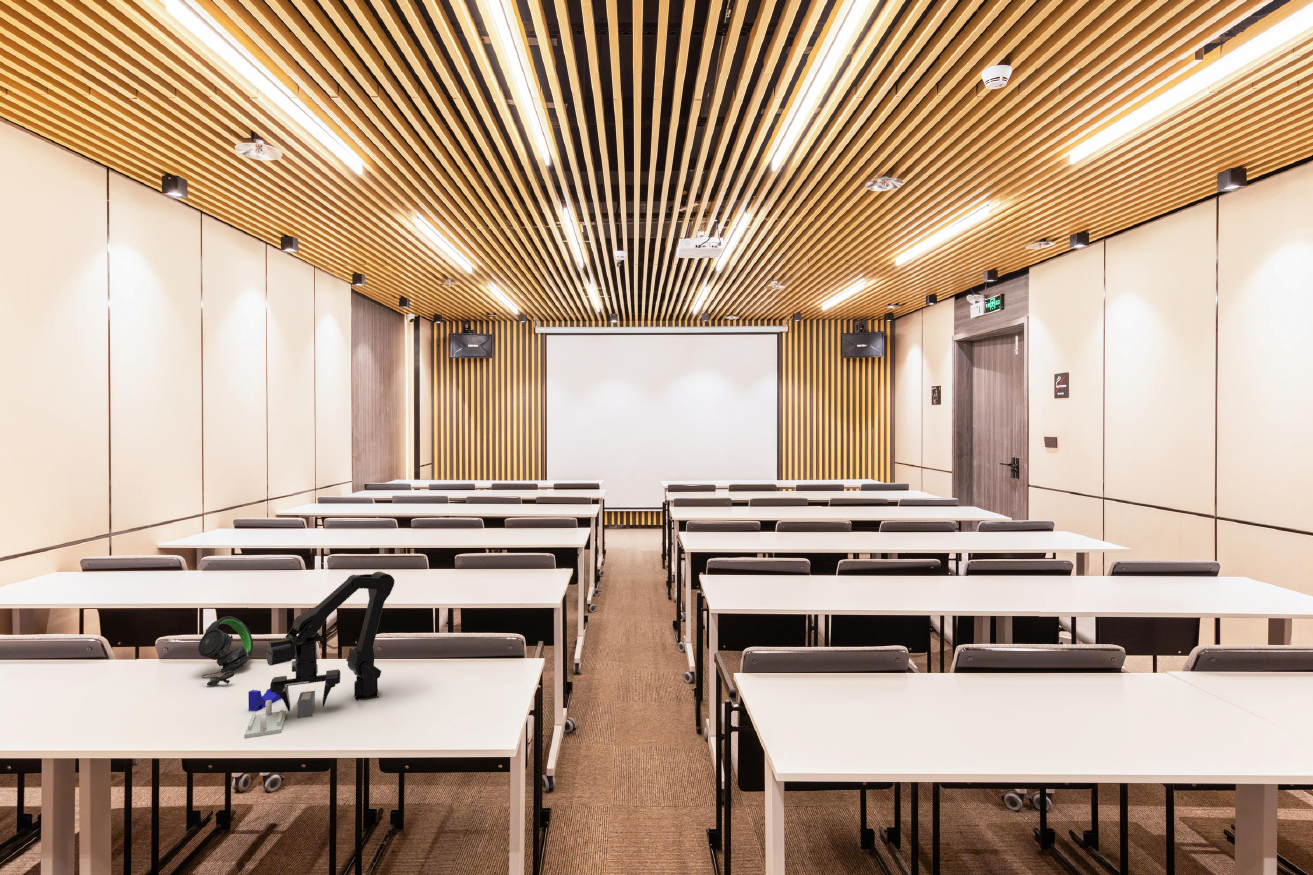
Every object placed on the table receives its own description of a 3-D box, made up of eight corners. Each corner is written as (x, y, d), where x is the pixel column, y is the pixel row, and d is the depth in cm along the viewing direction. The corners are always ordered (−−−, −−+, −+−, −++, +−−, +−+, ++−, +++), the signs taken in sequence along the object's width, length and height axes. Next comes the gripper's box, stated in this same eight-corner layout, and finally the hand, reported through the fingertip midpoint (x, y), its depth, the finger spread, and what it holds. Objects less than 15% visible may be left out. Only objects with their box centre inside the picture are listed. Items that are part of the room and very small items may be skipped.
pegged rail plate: (286, 713, 208) (286, 697, 208) (281, 732, 195) (281, 714, 195) (252, 718, 205) (251, 701, 205) (244, 738, 192) (244, 720, 192)
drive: (315, 706, 214) (314, 690, 214) (312, 716, 207) (312, 699, 207) (300, 708, 213) (300, 692, 213) (297, 718, 205) (297, 701, 205)
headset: (215, 706, 235) (245, 643, 260) (249, 690, 234) (276, 629, 259) (175, 675, 226) (210, 613, 251) (211, 658, 225) (243, 598, 250)
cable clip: (273, 695, 223) (273, 677, 223) (285, 697, 222) (285, 678, 222) (244, 710, 211) (244, 691, 211) (257, 712, 210) (257, 692, 210)
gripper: (340, 645, 220) (341, 694, 221) (274, 653, 213) (274, 703, 213) (339, 656, 210) (339, 707, 210) (269, 664, 203) (270, 717, 203)
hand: (306, 708), depth 210 cm, fingers open, 9 cm apart
